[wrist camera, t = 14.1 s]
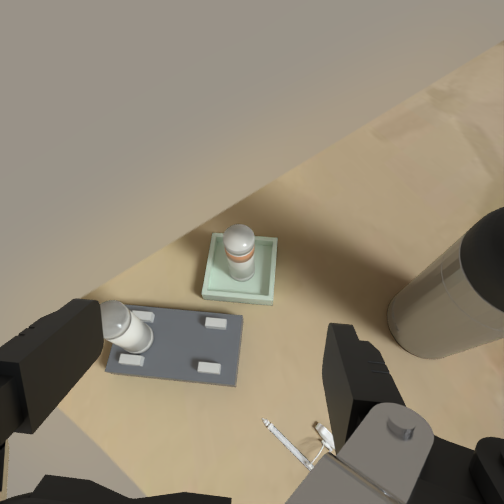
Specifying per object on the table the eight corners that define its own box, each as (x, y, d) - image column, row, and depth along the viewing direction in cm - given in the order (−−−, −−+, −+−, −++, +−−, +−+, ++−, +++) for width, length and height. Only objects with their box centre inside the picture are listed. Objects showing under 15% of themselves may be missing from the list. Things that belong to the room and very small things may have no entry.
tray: (276, 244, 48) (277, 237, 46) (272, 305, 44) (273, 300, 42) (214, 239, 48) (212, 232, 46) (203, 299, 44) (201, 294, 42)
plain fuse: (157, 325, 40) (132, 301, 32) (150, 355, 38) (121, 339, 30) (128, 322, 40) (96, 298, 32) (120, 352, 39) (84, 335, 31)
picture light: (260, 421, 38) (260, 420, 36) (284, 390, 39) (285, 388, 38) (362, 525, 33) (369, 531, 32) (385, 487, 35) (393, 490, 33)
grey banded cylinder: (256, 259, 46) (255, 225, 38) (253, 283, 44) (252, 253, 36) (230, 256, 46) (225, 222, 38) (227, 280, 45) (220, 250, 37)
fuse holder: (243, 320, 43) (242, 312, 39) (235, 387, 39) (233, 384, 36) (130, 310, 44) (120, 301, 40) (113, 374, 40) (100, 370, 37)
